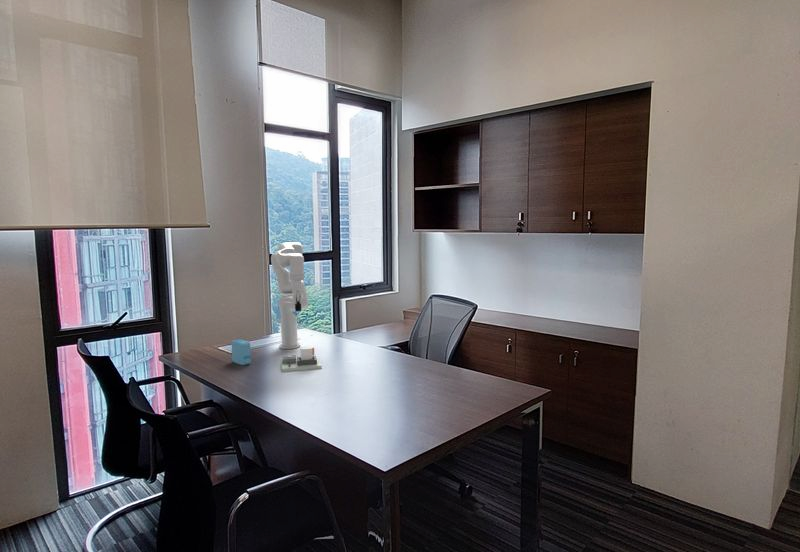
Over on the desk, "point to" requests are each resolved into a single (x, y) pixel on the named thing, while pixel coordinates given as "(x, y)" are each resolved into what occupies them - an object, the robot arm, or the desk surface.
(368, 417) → the desk surface
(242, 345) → the data package
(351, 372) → the desk surface
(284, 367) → the board
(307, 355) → the plug
